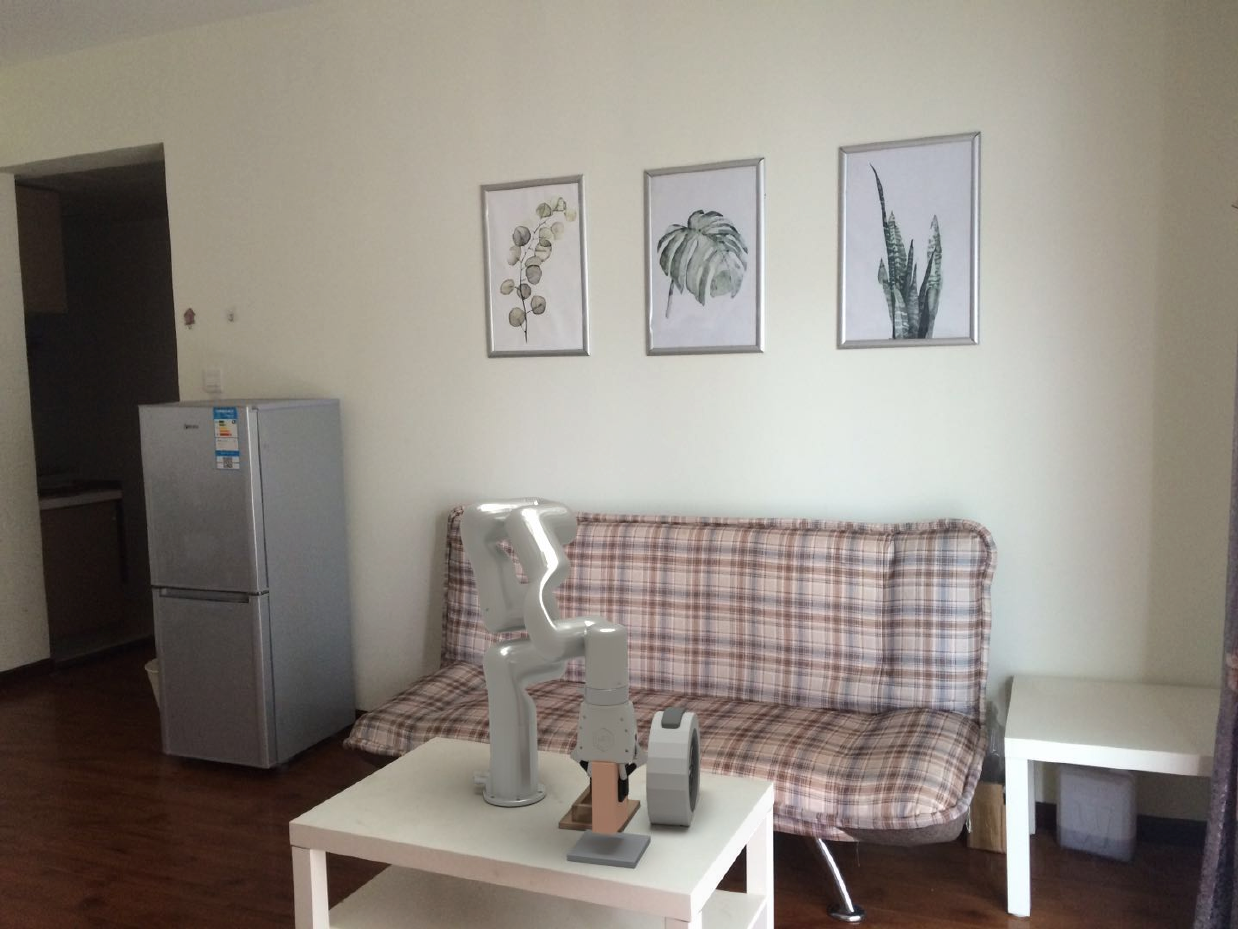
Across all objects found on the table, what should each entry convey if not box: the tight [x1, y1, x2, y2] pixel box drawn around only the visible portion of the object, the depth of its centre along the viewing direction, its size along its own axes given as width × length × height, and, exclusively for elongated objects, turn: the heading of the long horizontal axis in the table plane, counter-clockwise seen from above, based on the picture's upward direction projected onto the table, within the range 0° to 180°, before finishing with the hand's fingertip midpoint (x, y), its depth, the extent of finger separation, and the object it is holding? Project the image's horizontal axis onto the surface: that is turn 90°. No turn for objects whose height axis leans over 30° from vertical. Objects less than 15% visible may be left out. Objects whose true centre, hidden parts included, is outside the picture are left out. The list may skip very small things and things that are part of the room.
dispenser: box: [558, 783, 641, 833], centre depth 189 cm, size 12×14×5 cm
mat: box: [566, 829, 652, 869], centre depth 174 cm, size 12×11×1 cm
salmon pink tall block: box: [592, 761, 628, 835], centre depth 174 cm, size 4×8×12 cm, turn 164°
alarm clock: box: [645, 706, 701, 827], centre depth 191 cm, size 21×8×20 cm, turn 168°
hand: (609, 797), depth 173 cm, fingers closed on salmon pink tall block, 4 cm apart
